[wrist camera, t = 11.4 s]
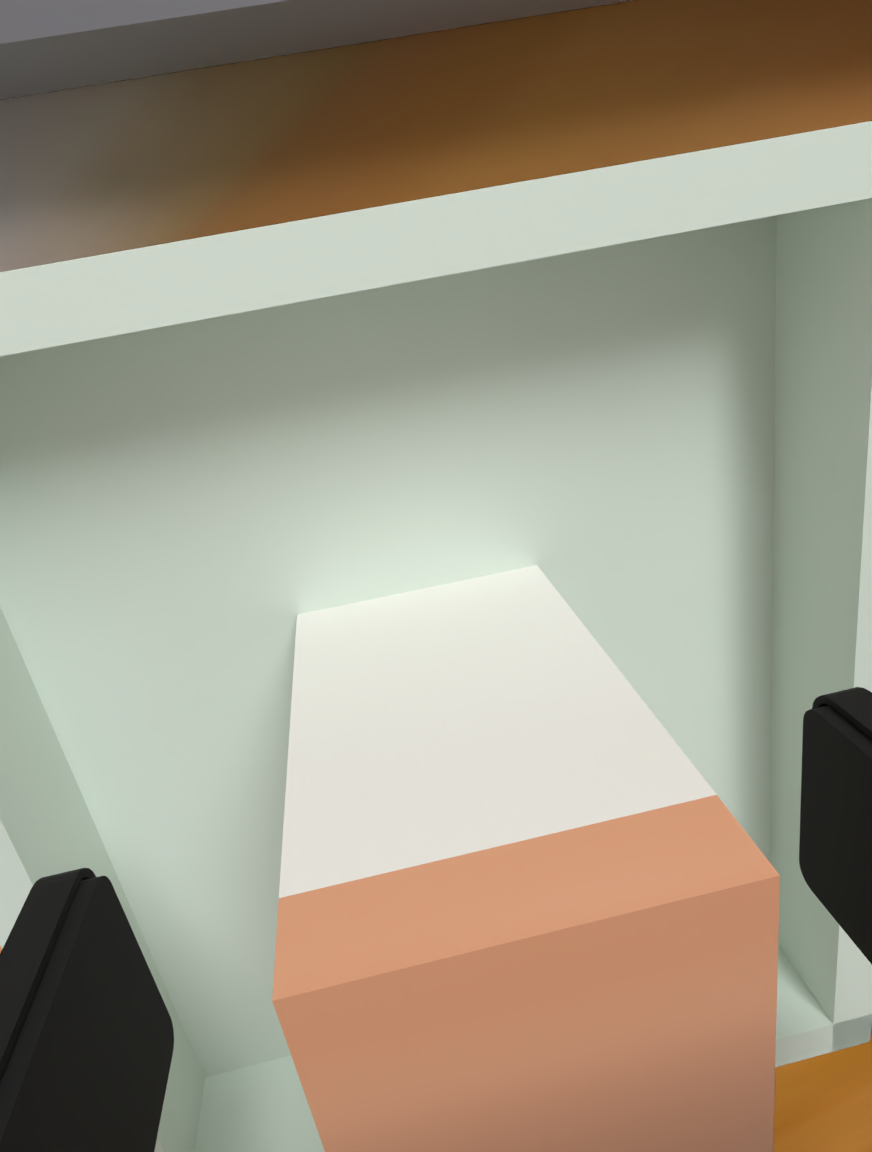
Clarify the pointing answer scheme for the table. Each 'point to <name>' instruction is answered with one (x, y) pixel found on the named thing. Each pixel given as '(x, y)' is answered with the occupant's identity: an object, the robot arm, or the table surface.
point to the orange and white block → (511, 893)
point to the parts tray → (427, 531)
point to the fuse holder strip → (211, 33)
